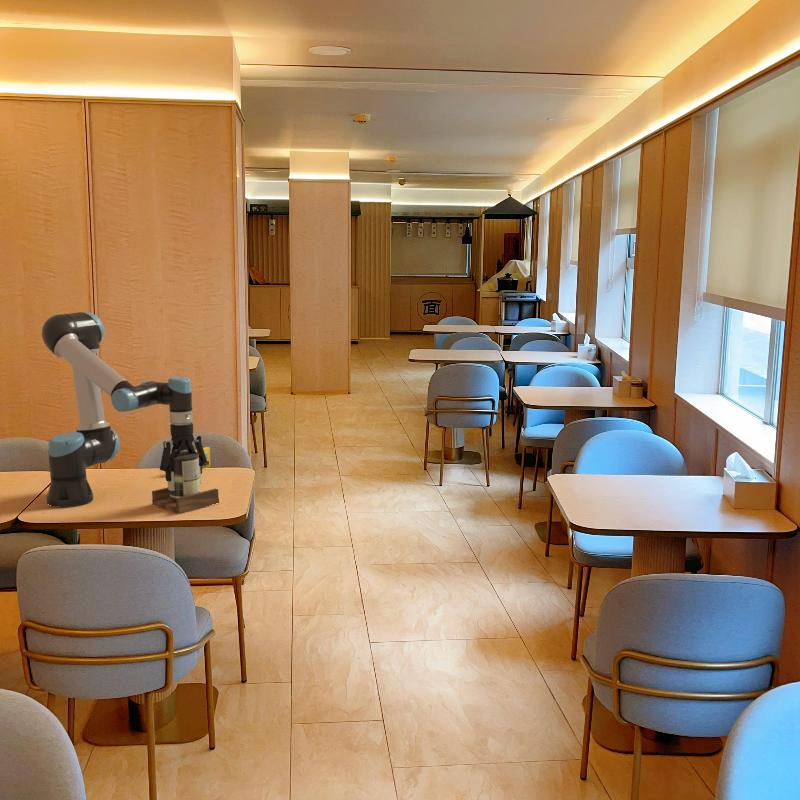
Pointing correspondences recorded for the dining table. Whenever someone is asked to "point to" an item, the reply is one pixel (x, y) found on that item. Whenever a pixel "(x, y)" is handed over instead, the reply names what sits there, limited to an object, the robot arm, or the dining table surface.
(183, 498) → the stand
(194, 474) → the coffee can
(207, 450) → the candy box
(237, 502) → the dining table surface
